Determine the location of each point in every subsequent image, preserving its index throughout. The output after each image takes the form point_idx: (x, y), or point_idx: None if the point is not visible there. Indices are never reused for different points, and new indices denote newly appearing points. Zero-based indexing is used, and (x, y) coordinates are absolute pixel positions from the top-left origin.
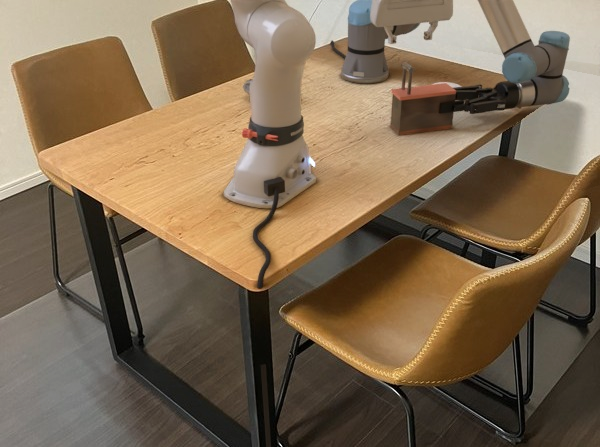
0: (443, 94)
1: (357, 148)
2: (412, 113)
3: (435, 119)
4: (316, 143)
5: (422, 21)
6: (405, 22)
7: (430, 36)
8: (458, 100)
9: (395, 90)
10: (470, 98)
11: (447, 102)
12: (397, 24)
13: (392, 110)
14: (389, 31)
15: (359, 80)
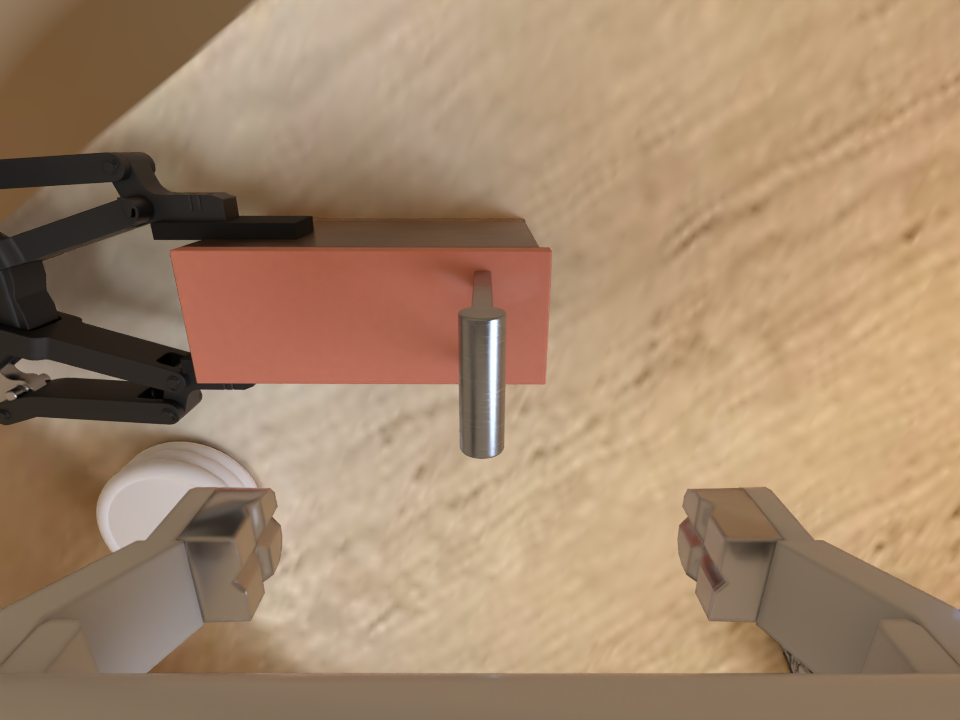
0: (261, 248)
1: (760, 139)
2: (463, 233)
3: (338, 225)
4: (894, 245)
5: (274, 689)
6: (720, 705)
7: (199, 507)
8: (149, 450)
9: (531, 360)
10: (98, 332)
11: (252, 233)
12: (901, 681)
13: None
14: (919, 603)
15: None
